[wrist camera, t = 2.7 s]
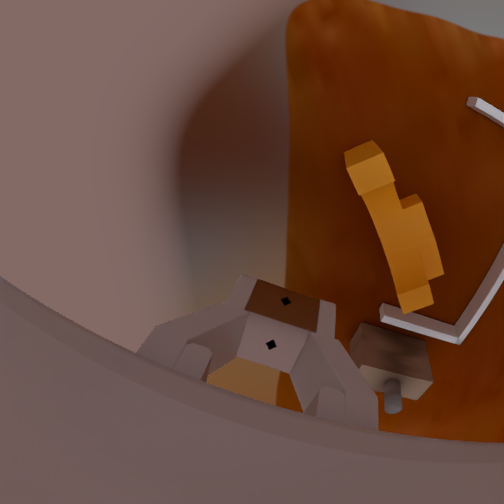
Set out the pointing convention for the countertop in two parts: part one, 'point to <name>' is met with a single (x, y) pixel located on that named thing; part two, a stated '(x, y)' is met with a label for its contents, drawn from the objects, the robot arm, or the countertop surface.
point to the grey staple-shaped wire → (498, 272)
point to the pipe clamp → (397, 226)
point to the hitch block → (391, 364)
